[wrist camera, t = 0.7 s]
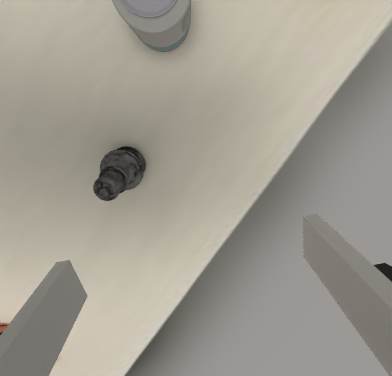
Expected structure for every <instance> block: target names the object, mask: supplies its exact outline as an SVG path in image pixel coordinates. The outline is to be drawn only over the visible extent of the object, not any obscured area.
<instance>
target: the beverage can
mask: <svg viewBox="0 0 392 376" xmlns="http://www.w3.org/2000/svg"><path fill="white" fill-rule="evenodd" d="M112 1H113V4H114V6H115V8H116V9H117V11H118V13H119V14H120V15H121V17H122V18H123V19H124V20H125V21H126V23H127V24H128V25H129V26H130V27H131V28H132V30H133V31H134V32H135V33H136V34H137V36H138V37H139V38H140V39H141V40H142V41H143V42H144V43H145V44H146V45H147V46H149V47H150V48H152V49H155V50H158V51H168V50H171V49H174V48H176V47H177V46H178V45H180V44H181V43H182V41H183V40H184V39H185V37H186V35H187V33H188V30H189V26H190V12H191V0H112Z"/></svg>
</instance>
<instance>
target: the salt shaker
mask: <svg viewBox="0 0 392 376" xmlns="http://www.w3.org/2000/svg"><path fill="white" fill-rule="evenodd" d="M144 170H145V159H144V157H143V155H142V154H141V153H140V152H139V151H138V150H136V149H135V148H132V147H121V148H118V149H117V150H114V151H111V152H109V153H108V154H107V155H105V156H104V158H103V159H102V161H101V165H100V171H101V172H100V175H99V178H98V179H97V180H96V181H95V183H94V186H93V189H94V193H95V194H96V196H97V197H98V198H100V199H101V200H104V201H111V200H113V199H115V198H116V197H117V196H118V194H119V193H122V192H123V191H125V190H130V189H133V188H135V187H136V186H137V185H139V183H140V182H141V180H142V178H143V172H144Z"/></svg>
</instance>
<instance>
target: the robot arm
mask: <svg viewBox="0 0 392 376" xmlns="http://www.w3.org/2000/svg"><path fill="white" fill-rule="evenodd" d="M303 239H304V240H303V244H304V258H305V259H306V261H307V262H308V263H309V265H310V266H311V268H312V269H313V270H314V272H315V273H316V274H317V276H318V277H319V279H320V280H321V282H322V283H323V284H324V286H325V287H326V288H327V290H328V291H329V293H330V294H331V295H332V297H333V298H334V299H335V301H336V302H337V304H338V305H339V306H340V308H341V309H342V311H343V312H344V313H345V315H346V316H347V318H348V319H349V320H350V322H351V323H352V324H353V326H354V327H355V328H356V330H357V331H358V333H359V334H360V336H361V337H362V338H363V340H364V341H365V343H366V344H367V345H368V347H369V348H370V349H371V351H372V352H373V354H374V355H375V356H376V357H377V359H378V361H379V362H380V363H381V365H382V366H383V367H384V369H385V370H386V372H387V373H388V374H389V376H392V266H389V265H388V264H386V263H383V264H377V265H373V264H371V263H370V262H369V261H368V260H367V259H366V258H365V257H364V256H363V255H362V254H361V253H359V252H358V251H357V250H356V249H355V248H354V247H353V246H352V245H351V244H350V243H348V242H347V241H346V240H345V239H344V238H343V237H342V236H341V235H340V234H339V233H338V232H337V231H335V230H334V229H333V228H332V227H331V226H330V225H329V224H328V223H327V222H326V221H324V220H323V219H322V218H321V217H320V216H319V215H318V214H313V215H308V216H303ZM86 298H87V294H86V292H85V290H84V288H83V286H82V284H81V282H80V280H79V278H78V276H77V274H76V272H75V270H74V268H73V266H72V264H71V262H70V260H67V261H62V262H57V263H56V264H55V265H54V266H53V268H52V269H51V270H50V272H49V273H48V274H47V275H46V277H45V278H44V279H43V281H42V282H41V283H40V285H39V286H38V287H37V288H36V290H35V291H34V292H33V294H32V295H31V296H30V298H29V299H28V300H27V301H26V303H25V304H24V305H23V307H22V308H21V309H20V311H19V312H18V313H17V315H16V316H15V317H14V318H13V320H12V321H11V322H10V324H9V325H8V326H7V328H6V329H5V330H4V331H3V332H0V376H49V374H50V372H51V370H52V368H53V366H54V364H55V362H56V360H57V358H58V356H59V354H60V352H61V350H62V347H63V345H64V343H65V341H66V339H67V337H68V335H69V333H70V331H71V329H72V327H73V325H74V323H75V321H76V319H77V317H78V315H79V313H80V311H81V308H82V306H83V304H84V302H85V300H86Z"/></svg>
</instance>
